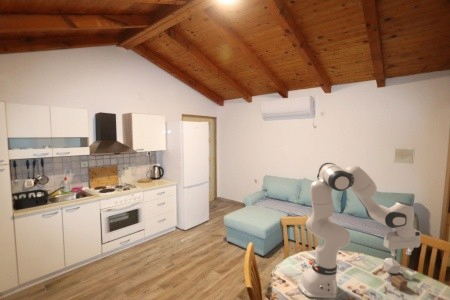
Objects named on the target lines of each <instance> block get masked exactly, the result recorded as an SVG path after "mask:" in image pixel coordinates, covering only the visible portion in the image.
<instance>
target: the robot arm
mask: <svg viewBox="0 0 450 300" xmlns="http://www.w3.org/2000/svg"><path fill="white" fill-rule="evenodd" d="M316 178H317V180H315V181H312V182H311V184H310V187H309V196H310V197H309V198H310V202H311V209H312V214H311V216H309V217H308V218H307V219H306V221H305V228H306V230H307V231H308V232H309V233H311V234H312V235H314V236H315V237H317V238H319V239H322V240H323V243H321V244H319V245H317V246H316V248H315V253H314V254H315V255H314V257H315V258H314V261H312V260H309V261H308V264H309V265H310V266H311V267H309V268H307V270H305V271H304V272H302V274H301V277H300V278H297V279H296V284H297V287H298V288H299V290H300V291H301V293H302V294H304V295H305V296H306V297H308V298H320V299H321V298H324V299H325V298H326V299H336V298H337V294H338V292H339V287H338V283H337V281H338V280H337V272H338V265H337V258H338V256H337V255H338V252H339V251H340V250H341V249H342V248H345V247H347V246H348V245H349V244H350V242H351V239H352V238H351V233H350V230H348V229H346V228H345V227H343V226H342V225H340V224H338V223H335V222H333V221H331V220H329V219H328V218H330V217H333V215H334V213H335V207H334V206H335V205H334V201H333V200H334V199H333V194H332V192H333V190H334V191H337V192H343V191H346V190H348V189H349V188H350V189H351V191H352V192H353V193H354V194H355V195H356V197H357V198H358V200H359V202H360V203H361V204H362V205H363V207H364V209H365V213H366V215H367V217H368V218H369V219H371V220H373V221H376V222H378V223H379V224H381V225H384V226H386V227H388V228H391V229H392V231H388V232H387V233H385V236H384V240H383V246H384V248H386V249H387V250H389V251H390V254H391V256H392V257H397V252H395V251H396V250H399V249H400V250H402V249H406V251H405V254H406V255H407V256H411V255H412V252H413V251H414V248H420V246H421V240H422V237H421V236H422V232H421V231H419V230H417V229H415V228H414V225H413V224H414V221H415V210H414V206H413V205H412V204H410V203H407V202H403V201H396V202H395V204H394V205H392V206H391V207H387V206H385V205H382V204H381V203H378V202H376V201H375V200H374V198H373V196H374V195H375V194H376V193H377V189H378V188H377V186H376V183H375V182H374V180H373V178H371V177H370V175H369V174H368V173H366V171H364V170H363V168H361V167H360V166H358V165H353V164H352V165H349V166H347V167H346V168H341V167H340V166H339V165H336V164H335V163H333V162H325V163H322V165H320V167H319V169H318V173H317V176H316Z"/></svg>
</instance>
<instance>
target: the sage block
mask: <svg viewBox="0 0 450 300" xmlns="http://www.w3.org/2000/svg"><path fill="white" fill-rule="evenodd" d="M402 273H403V275H402V277H403V278H404V279H406V280H409V281H412V280H414V279H415V272H413V271H411V270H408V269H405V270H404V271H402Z"/></svg>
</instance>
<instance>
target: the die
mask: <svg viewBox="0 0 450 300" xmlns="http://www.w3.org/2000/svg"><path fill="white" fill-rule="evenodd" d="M382 267H383V268H384V270H385V271H386V272H388V273H390V274H396V275H397V274H399V272H400V269H401V264H400V263H399V262H398V261H397V260H396V259H394V258H393V257H387V258H386V257H385V259H384V260H383V263H382Z"/></svg>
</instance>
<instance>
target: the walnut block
mask: <svg viewBox="0 0 450 300" xmlns="http://www.w3.org/2000/svg"><path fill="white" fill-rule="evenodd" d="M390 281H391V284H390V285H391V286H392V287H393V288H394V289H397V291H398V292H401V291H405V290H408V279H407V278H404V277H403V276H402V275H397V274H396V275H392V276H391V280H390Z"/></svg>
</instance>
